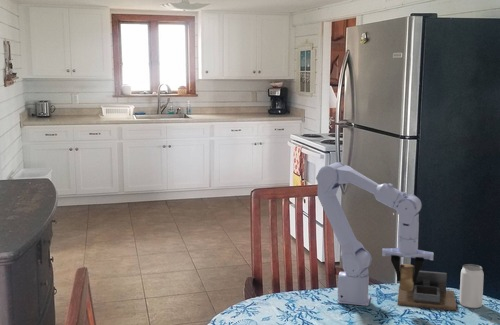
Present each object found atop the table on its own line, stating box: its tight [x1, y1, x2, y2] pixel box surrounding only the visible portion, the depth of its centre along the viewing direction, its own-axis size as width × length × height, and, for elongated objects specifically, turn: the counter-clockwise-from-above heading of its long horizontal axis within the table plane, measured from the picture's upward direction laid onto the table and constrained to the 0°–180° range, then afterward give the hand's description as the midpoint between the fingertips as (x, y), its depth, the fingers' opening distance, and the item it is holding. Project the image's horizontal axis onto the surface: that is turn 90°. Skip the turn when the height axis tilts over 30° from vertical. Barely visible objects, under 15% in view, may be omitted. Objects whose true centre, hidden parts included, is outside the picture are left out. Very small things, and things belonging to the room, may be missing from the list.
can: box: [459, 263, 485, 309], centre depth 169 cm, size 6×6×12 cm
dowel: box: [398, 263, 415, 291], centre depth 164 cm, size 4×4×7 cm
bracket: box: [397, 269, 457, 311], centre depth 174 cm, size 17×13×7 cm
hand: (406, 280), depth 165 cm, fingers closed on dowel, 4 cm apart
